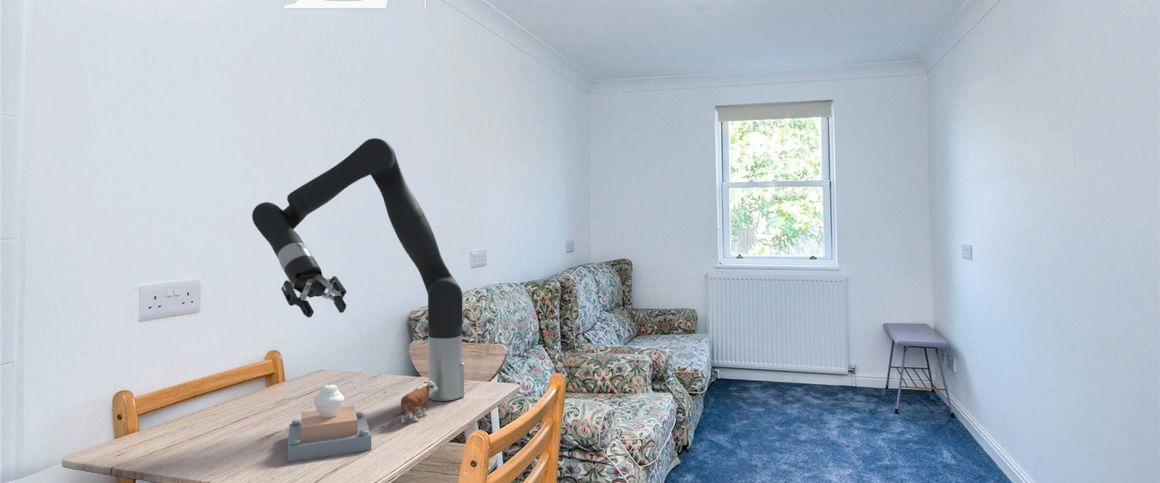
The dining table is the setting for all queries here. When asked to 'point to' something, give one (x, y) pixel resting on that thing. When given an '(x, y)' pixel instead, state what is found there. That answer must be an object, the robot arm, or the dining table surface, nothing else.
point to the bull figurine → (417, 400)
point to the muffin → (329, 401)
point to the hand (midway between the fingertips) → (327, 312)
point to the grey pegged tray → (328, 435)
